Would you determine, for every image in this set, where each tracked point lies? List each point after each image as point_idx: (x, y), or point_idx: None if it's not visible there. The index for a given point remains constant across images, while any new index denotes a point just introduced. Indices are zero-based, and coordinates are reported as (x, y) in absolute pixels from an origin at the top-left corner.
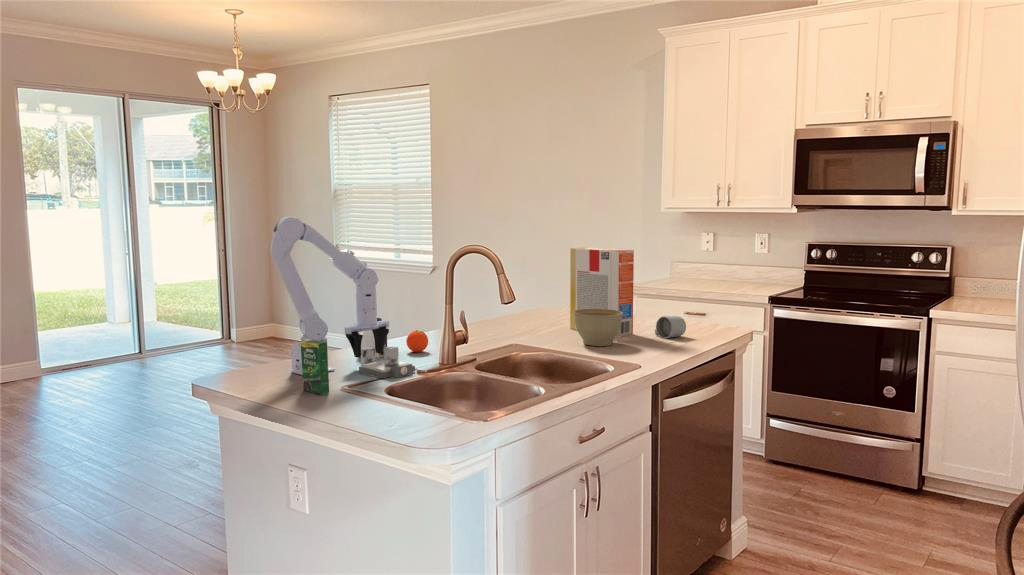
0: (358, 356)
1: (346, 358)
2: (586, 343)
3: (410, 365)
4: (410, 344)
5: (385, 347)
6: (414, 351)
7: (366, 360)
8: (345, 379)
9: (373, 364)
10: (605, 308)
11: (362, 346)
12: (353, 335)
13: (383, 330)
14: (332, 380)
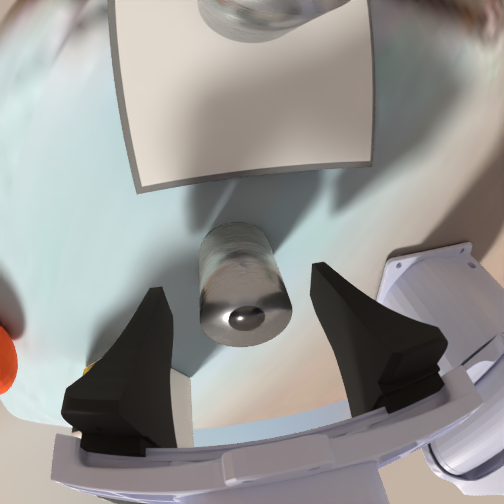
0: (328, 266)
1: (229, 381)
2: None
3: None
4: (3, 350)
5: (319, 4)
6: (3, 328)
7: (267, 251)
8: (452, 104)
9: (320, 111)
10: None
11: (178, 406)
12: (442, 355)
13: (119, 411)
14: (476, 134)
